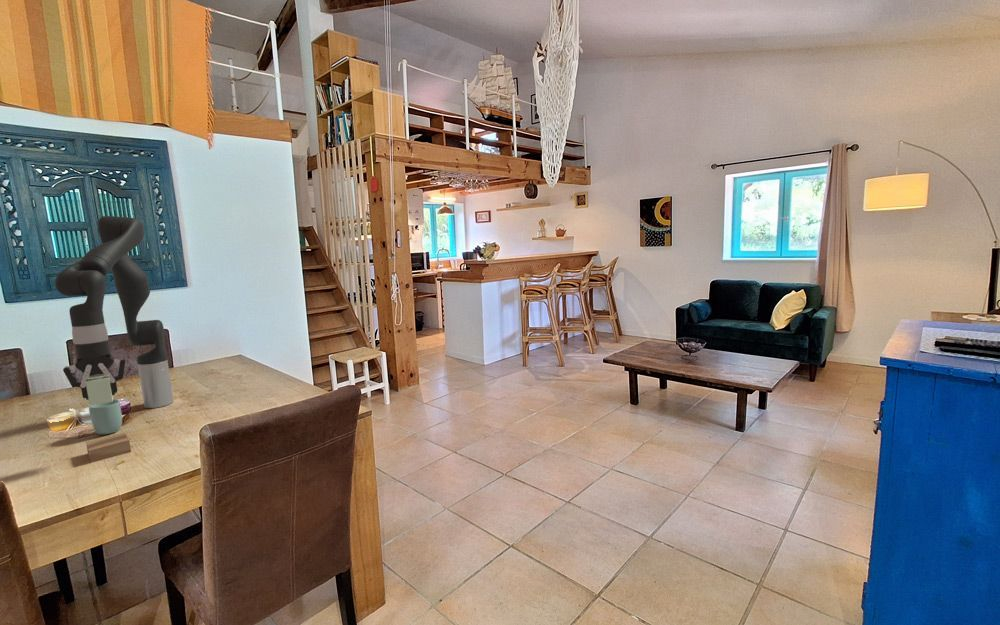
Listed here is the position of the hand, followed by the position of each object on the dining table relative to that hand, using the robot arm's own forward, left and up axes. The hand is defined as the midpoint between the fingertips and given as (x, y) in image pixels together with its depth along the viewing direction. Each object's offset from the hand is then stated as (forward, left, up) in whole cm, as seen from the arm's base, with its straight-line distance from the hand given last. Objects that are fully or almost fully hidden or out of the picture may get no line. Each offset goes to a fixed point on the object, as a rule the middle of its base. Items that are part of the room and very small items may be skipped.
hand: (100, 396), depth 133 cm
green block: (0, 0, -1) cm, 1 cm away
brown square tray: (0, 0, -18) cm, 18 cm away
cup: (-21, -1, -18) cm, 27 cm away
